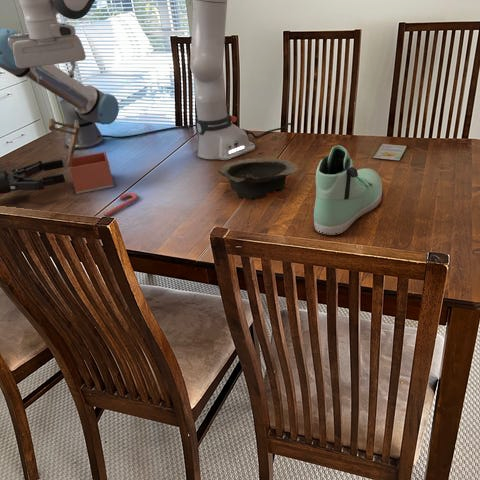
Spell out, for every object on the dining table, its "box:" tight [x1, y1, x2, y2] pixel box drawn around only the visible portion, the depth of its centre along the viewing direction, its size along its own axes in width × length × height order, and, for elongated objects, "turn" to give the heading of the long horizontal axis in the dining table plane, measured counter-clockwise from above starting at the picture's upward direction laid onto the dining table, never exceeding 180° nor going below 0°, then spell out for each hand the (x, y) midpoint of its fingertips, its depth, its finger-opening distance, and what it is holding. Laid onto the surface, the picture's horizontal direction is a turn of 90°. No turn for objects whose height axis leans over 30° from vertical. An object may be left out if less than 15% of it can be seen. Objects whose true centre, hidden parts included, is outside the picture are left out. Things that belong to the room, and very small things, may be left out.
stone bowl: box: [217, 157, 299, 201], centre depth 152 cm, size 25×25×9 cm
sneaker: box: [313, 145, 383, 236], centre depth 133 cm, size 14×35×20 cm, turn 152°
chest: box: [68, 151, 115, 195], centre depth 164 cm, size 13×10×9 cm
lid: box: [48, 118, 80, 168], centre depth 156 cm, size 13×10×9 cm
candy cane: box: [103, 192, 139, 218], centre depth 150 cm, size 6×15×2 cm, turn 145°
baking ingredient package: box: [373, 143, 407, 161], centre depth 172 cm, size 9×1×15 cm
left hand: (63, 170), depth 160 cm, fingers open, 13 cm apart
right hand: (56, 79), depth 147 cm, fingers open, 8 cm apart
